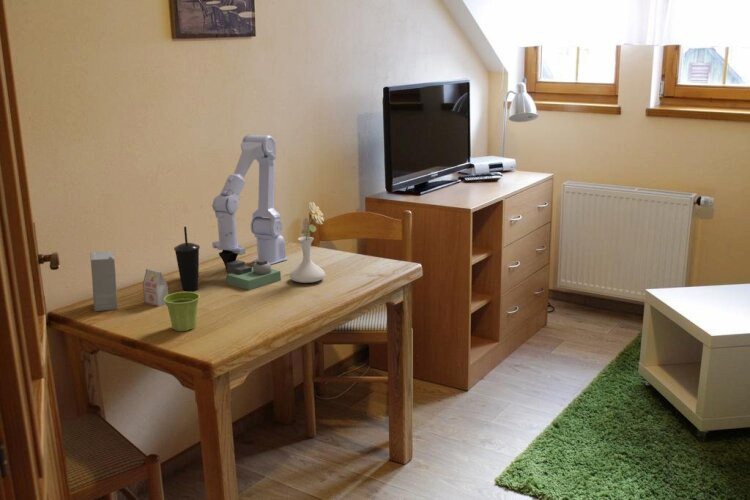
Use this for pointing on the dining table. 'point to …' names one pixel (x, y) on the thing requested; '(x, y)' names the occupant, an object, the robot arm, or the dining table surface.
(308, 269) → the flower in vase
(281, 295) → the dining table surface
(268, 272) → the sage green base plate
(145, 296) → the white printed carton
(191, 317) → the plant pot
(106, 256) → the skincare box
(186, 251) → the drinking cup
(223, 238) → the robot arm
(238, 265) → the notched gray block
